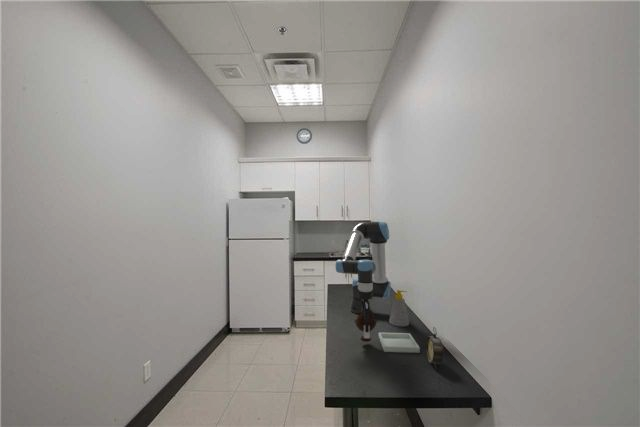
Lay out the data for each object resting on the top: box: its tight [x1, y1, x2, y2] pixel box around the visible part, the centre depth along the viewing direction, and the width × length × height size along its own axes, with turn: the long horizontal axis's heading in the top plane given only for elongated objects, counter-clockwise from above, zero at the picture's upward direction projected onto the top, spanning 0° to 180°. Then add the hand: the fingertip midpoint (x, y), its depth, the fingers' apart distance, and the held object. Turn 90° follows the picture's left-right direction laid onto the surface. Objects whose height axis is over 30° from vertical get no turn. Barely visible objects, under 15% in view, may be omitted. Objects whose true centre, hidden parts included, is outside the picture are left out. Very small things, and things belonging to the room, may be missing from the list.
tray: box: [378, 332, 421, 354], centre depth 139 cm, size 17×17×2 cm
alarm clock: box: [425, 326, 445, 370], centre depth 120 cm, size 11×5×16 cm, turn 174°
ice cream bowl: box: [354, 309, 377, 343], centre depth 139 cm, size 11×11×15 cm
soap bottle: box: [388, 289, 410, 328], centre depth 170 cm, size 12×12×20 cm
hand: (365, 333), depth 139 cm, fingers closed on ice cream bowl, 11 cm apart
